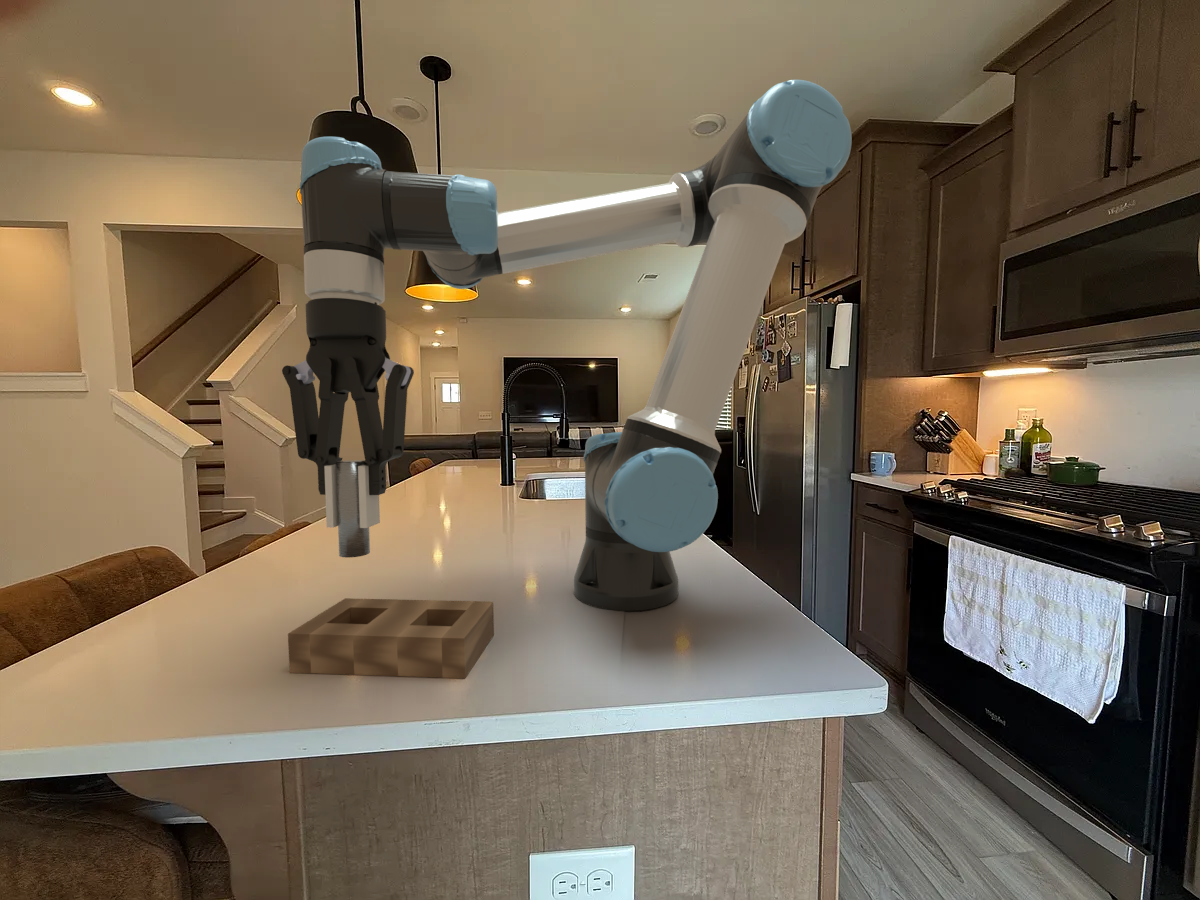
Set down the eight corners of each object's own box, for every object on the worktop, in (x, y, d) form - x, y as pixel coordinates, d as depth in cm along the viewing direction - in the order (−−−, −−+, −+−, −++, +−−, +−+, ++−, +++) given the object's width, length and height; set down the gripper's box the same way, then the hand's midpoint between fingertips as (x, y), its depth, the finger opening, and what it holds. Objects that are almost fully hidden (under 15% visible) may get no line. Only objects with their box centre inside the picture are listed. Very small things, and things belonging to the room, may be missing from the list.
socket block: (493, 635, 60) (493, 601, 60) (464, 678, 50) (464, 638, 50) (346, 631, 61) (345, 598, 61) (289, 672, 51) (287, 633, 51)
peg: (375, 550, 57) (372, 460, 56) (360, 557, 54) (357, 462, 53) (349, 549, 57) (346, 460, 56) (333, 557, 54) (329, 462, 53)
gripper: (435, 309, 57) (439, 519, 58) (297, 311, 58) (305, 517, 60) (404, 292, 49) (410, 534, 51) (246, 296, 51) (257, 531, 52)
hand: (353, 524), depth 55 cm, fingers closed on peg, 3 cm apart
